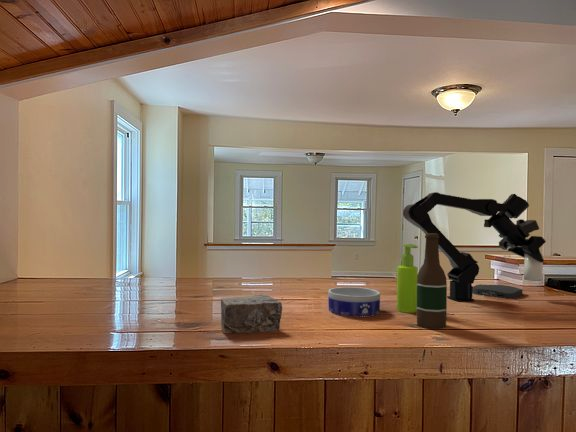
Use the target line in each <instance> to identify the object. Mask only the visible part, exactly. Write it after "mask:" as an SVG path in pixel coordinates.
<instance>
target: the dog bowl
mask: <svg viewBox="0 0 576 432" xmlns="http://www.w3.org/2000/svg"><path fill="white" fill-rule="evenodd" d="M327 293H328V294H327V295H328V311H329V312H330V311H331V312H332V314H334V313H335V315H337V314H339V315H338V316H341V315H345V316H344V317H349V316H359V317H358V318H365V317H364V316H369V317H373V316H372V315H374V316H377V315H379V314H380V310H381V309H380V308H381V307H380V306H381V293H380V291H379V290H376V289H373V288H367V287H360V286H359V287H358V286H342V287H338V286H337V287H333V288H330V289H328V292H327ZM331 312H330V313H331ZM378 313H379V314H378ZM376 314H377V315H376ZM360 316H361V317H360ZM362 316H363V317H362Z"/></svg>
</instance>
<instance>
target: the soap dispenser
mask: <svg viewBox="0 0 576 432" xmlns="http://www.w3.org/2000/svg"><path fill="white" fill-rule="evenodd" d="M402 247H404V253H403V254H402V255H401V265H398V266H397V267H396V268H397V269H396V272H397V275H396V280H397V281H396V310H397V311H398V312H400V313H401V312H402V313H408V314H409V313H411V314H412V313H413V314H414V313H417V276H418V272H419V269H418V268H419V267H417V266H415V265H414V255H413V254H411V250H412V249H418V246H417V245H416V244H413V243H408V244H406V243H404V244H403V243H402Z"/></svg>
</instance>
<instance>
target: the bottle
mask: <svg viewBox="0 0 576 432" xmlns="http://www.w3.org/2000/svg"><path fill="white" fill-rule="evenodd" d="M541 255H542V257H543V258H544V254H543V253H541ZM523 258H524V259H523V260H524V262H523V265H524V266H523V280H525V281H528V282H529V281H530V282H543V271H544V270H543V267H544V266H543V265H544V264H543V262H544V261H543V262H542V263H541V262H539V261H537V260H535V259H533V258H531V257H529V256H527V255H525V254H524V257H523Z"/></svg>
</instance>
